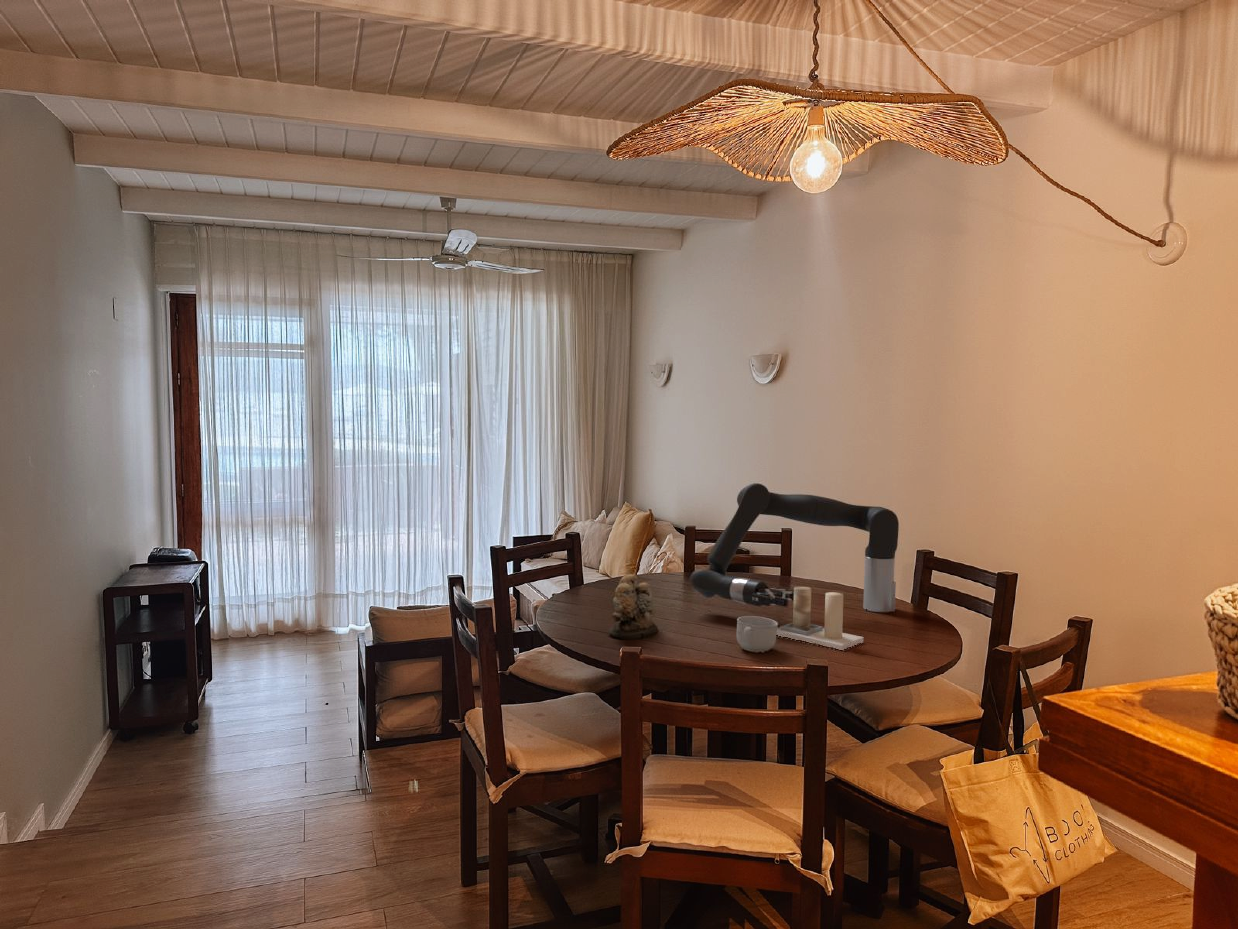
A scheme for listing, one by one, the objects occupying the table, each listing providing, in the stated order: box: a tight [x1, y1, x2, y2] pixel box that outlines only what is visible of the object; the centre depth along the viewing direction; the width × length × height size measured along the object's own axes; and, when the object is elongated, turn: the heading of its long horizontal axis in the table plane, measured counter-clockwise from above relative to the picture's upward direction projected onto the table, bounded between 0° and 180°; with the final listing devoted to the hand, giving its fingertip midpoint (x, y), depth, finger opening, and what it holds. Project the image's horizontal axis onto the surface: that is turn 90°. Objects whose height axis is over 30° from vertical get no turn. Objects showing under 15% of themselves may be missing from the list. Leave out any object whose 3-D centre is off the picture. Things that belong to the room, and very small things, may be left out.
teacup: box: [736, 615, 779, 653], centre depth 220 cm, size 14×11×8 cm
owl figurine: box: [608, 573, 659, 640], centre depth 236 cm, size 18×12×17 cm, turn 145°
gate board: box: [777, 591, 864, 651], centre depth 232 cm, size 22×12×14 cm, turn 46°
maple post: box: [792, 586, 812, 631], centre depth 236 cm, size 5×5×12 cm
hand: (795, 600), depth 237 cm, fingers open, 8 cm apart
